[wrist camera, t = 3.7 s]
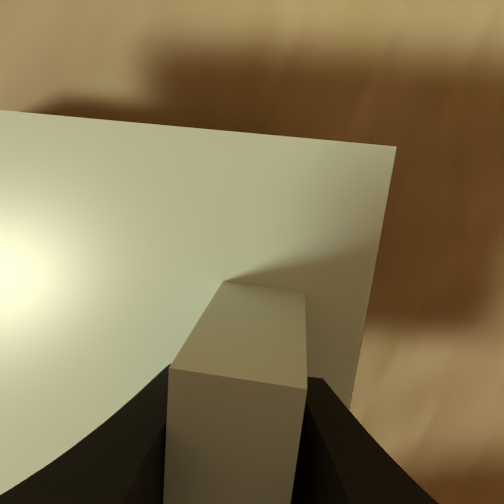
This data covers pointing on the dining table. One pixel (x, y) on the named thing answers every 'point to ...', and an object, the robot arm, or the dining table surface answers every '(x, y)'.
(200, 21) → the dining table surface
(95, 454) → the robot arm
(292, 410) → the lid
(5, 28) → the dining table surface
